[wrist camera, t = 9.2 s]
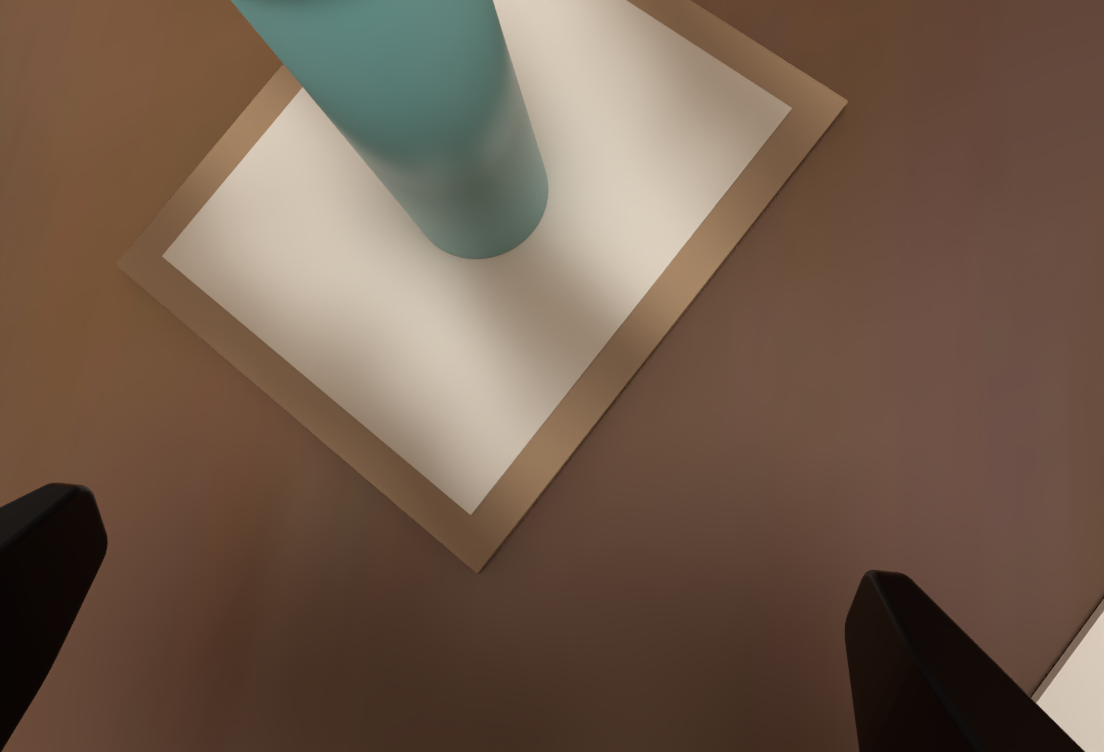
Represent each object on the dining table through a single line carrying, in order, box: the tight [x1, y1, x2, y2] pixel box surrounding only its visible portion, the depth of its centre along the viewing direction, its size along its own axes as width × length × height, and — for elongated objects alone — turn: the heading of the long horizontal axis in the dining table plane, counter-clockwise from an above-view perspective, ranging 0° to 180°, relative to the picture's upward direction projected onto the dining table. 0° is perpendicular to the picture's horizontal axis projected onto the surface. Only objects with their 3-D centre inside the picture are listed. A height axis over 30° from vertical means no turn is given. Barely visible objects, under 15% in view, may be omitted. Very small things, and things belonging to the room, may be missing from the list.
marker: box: [231, 0, 548, 259], centre depth 14 cm, size 4×4×13 cm
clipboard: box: [115, 0, 848, 574], centre depth 21 cm, size 15×13×1 cm
